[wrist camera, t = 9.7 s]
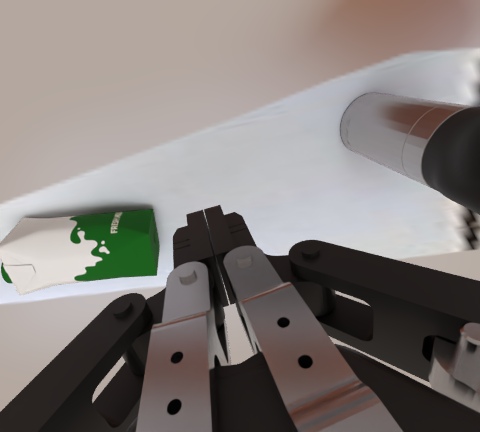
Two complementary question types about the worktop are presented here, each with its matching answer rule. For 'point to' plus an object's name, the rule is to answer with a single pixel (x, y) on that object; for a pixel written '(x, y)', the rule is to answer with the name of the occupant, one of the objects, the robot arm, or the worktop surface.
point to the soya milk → (79, 249)
